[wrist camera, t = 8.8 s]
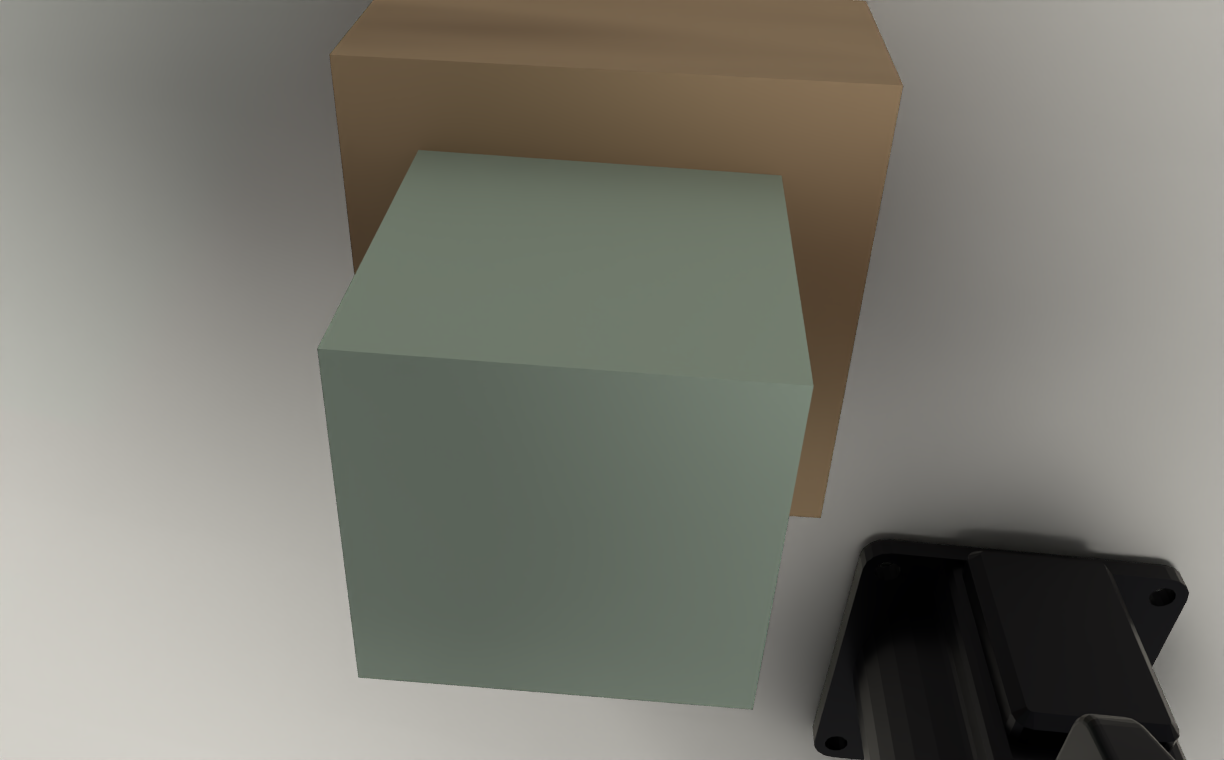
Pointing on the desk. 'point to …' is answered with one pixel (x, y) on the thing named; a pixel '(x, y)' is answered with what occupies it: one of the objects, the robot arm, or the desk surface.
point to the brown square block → (646, 124)
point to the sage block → (569, 427)
